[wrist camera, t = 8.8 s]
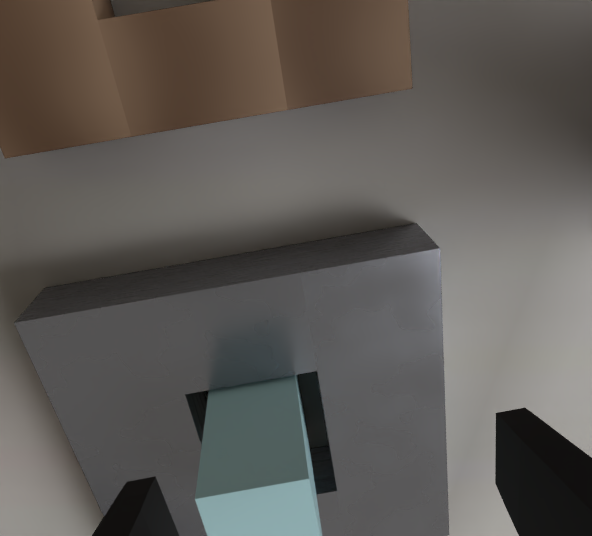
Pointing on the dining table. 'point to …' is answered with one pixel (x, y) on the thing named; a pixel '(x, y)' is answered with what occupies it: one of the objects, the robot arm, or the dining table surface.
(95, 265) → the dining table surface
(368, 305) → the port plate
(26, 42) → the brown square frame
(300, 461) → the plug
